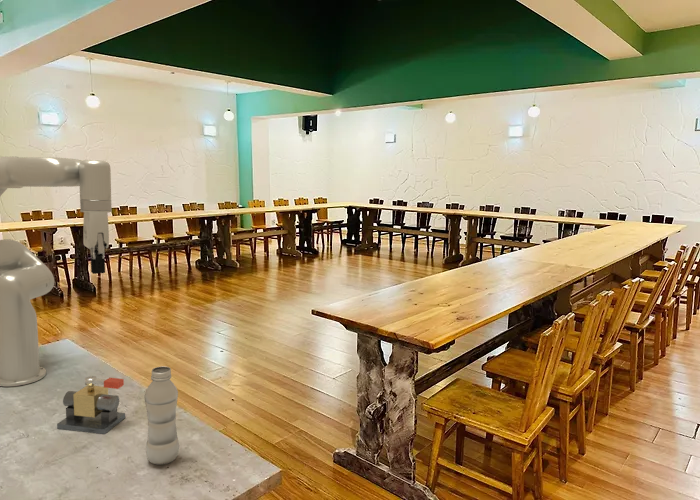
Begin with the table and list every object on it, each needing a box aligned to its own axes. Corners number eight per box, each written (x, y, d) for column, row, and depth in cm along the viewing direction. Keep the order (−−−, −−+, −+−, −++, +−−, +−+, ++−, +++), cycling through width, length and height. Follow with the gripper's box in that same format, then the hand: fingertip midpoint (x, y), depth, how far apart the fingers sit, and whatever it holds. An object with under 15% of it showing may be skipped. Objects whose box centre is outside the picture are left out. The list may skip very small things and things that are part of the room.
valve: (57, 428, 113) (55, 388, 112) (80, 412, 121) (79, 375, 119) (104, 434, 111) (103, 393, 110) (125, 417, 119) (124, 379, 118)
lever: (82, 385, 114) (82, 379, 113) (89, 381, 116) (89, 375, 116) (117, 389, 112) (117, 382, 112) (124, 384, 115) (123, 378, 114)
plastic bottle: (168, 471, 98) (167, 377, 96) (138, 466, 100) (136, 373, 97) (185, 454, 105) (184, 365, 102) (157, 449, 106) (155, 362, 103)
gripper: (75, 204, 135) (78, 269, 137) (85, 208, 123) (87, 279, 126) (105, 204, 139) (107, 267, 142) (117, 208, 128) (119, 276, 130)
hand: (98, 272), depth 134 cm, fingers closed
